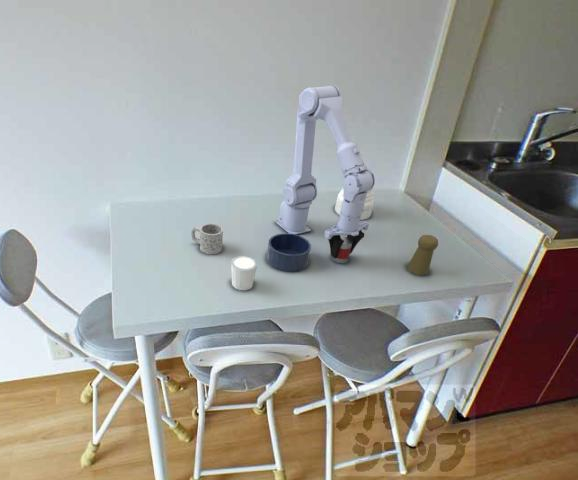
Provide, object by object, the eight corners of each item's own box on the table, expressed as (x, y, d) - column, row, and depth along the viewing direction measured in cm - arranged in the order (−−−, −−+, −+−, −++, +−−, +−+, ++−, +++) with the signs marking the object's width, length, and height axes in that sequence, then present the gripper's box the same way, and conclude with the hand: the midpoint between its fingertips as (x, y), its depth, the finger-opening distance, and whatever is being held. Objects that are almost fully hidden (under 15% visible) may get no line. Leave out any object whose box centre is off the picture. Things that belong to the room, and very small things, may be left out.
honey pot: (328, 212, 151) (339, 163, 140) (343, 200, 160) (354, 153, 149) (362, 223, 145) (376, 173, 134) (375, 210, 154) (389, 162, 143)
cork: (429, 277, 122) (443, 244, 115) (408, 273, 122) (420, 241, 116) (426, 265, 126) (439, 233, 120) (405, 262, 127) (417, 230, 120)
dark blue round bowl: (259, 254, 127) (260, 238, 123) (292, 245, 131) (295, 230, 128) (281, 275, 118) (283, 259, 115) (316, 265, 123) (319, 249, 120)
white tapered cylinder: (228, 276, 117) (230, 255, 112) (253, 276, 117) (255, 255, 113) (230, 291, 111) (232, 270, 107) (256, 291, 112) (258, 270, 108)
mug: (225, 246, 129) (226, 227, 125) (215, 256, 124) (216, 237, 120) (197, 237, 132) (197, 218, 128) (186, 247, 127) (186, 228, 123)
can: (328, 256, 127) (332, 238, 123) (340, 253, 129) (345, 234, 125) (338, 265, 124) (343, 246, 120) (351, 261, 126) (356, 242, 122)
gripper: (339, 224, 112) (330, 266, 120) (380, 214, 118) (368, 255, 126) (323, 213, 117) (315, 254, 125) (363, 204, 122) (352, 244, 131)
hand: (340, 254), depth 126 cm, fingers open, 5 cm apart
